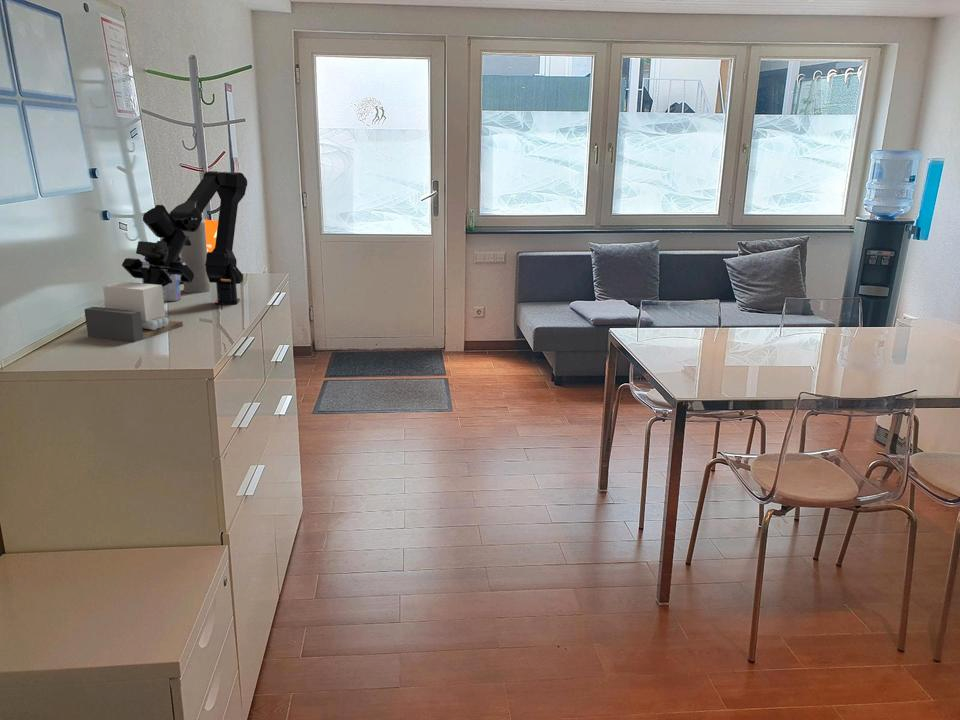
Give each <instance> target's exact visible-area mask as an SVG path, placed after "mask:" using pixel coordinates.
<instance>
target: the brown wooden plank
mask: <svg viewBox="0 0 960 720" xmlns="http://www.w3.org/2000/svg"><path fill="white" fill-rule="evenodd" d="M168 320H169V323H168V325H167V326H162V328H157V329H156V330H151V329H142V331H143V339H142V340H144V339H148V338H150V337H153V336H157V335H161V334H163V333H165V332H169V331H172V330H175V329H178V328H181V327H183V326H184V323H183V321H180V320H173V319H172V320H171V319H168Z"/></svg>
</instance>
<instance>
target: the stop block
mask: <svg viewBox="0 0 960 720" xmlns="http://www.w3.org/2000/svg"><path fill="white" fill-rule="evenodd" d="M83 309H84V318H85V325H86V332H87V333H86V334H87V337H88V338H96V339H97V338H98V339H105V340H106V339H107V340H115V341H123V342H124V341H125V342H132V343H136V342H139V341H141V340H144V339H143V331H142V322H141V312H140V311H132V310H122V309H112V308H105V307H100V306H99V307H98V306H92V307H91V306H90V307H88V308H83Z"/></svg>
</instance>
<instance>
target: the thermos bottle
mask: <svg viewBox="0 0 960 720" xmlns="http://www.w3.org/2000/svg"><path fill="white" fill-rule="evenodd" d="M183 233H184V234H185V235H186V236H189V240H190V241H191V246H183V248H182V250H181V259H182V262H185V263H186V264H187V266H188V267H189V268H190V269H191V270H192V272H193V273H194V278H193V280H192V282H191V283H188V282H184V283H183V289H184V292H186V293H191V294H192V293H193V294H194V293H195V294H196V293H205V292H210V290H211V283H210V282H209V279H208V276H207V272H206V266H205V263H206V255H207V243H206V231H205V221H204V219H202V221H201V223H200V225H199V227H198V229H197V230H196V231H195V232H187V231H183Z"/></svg>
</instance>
